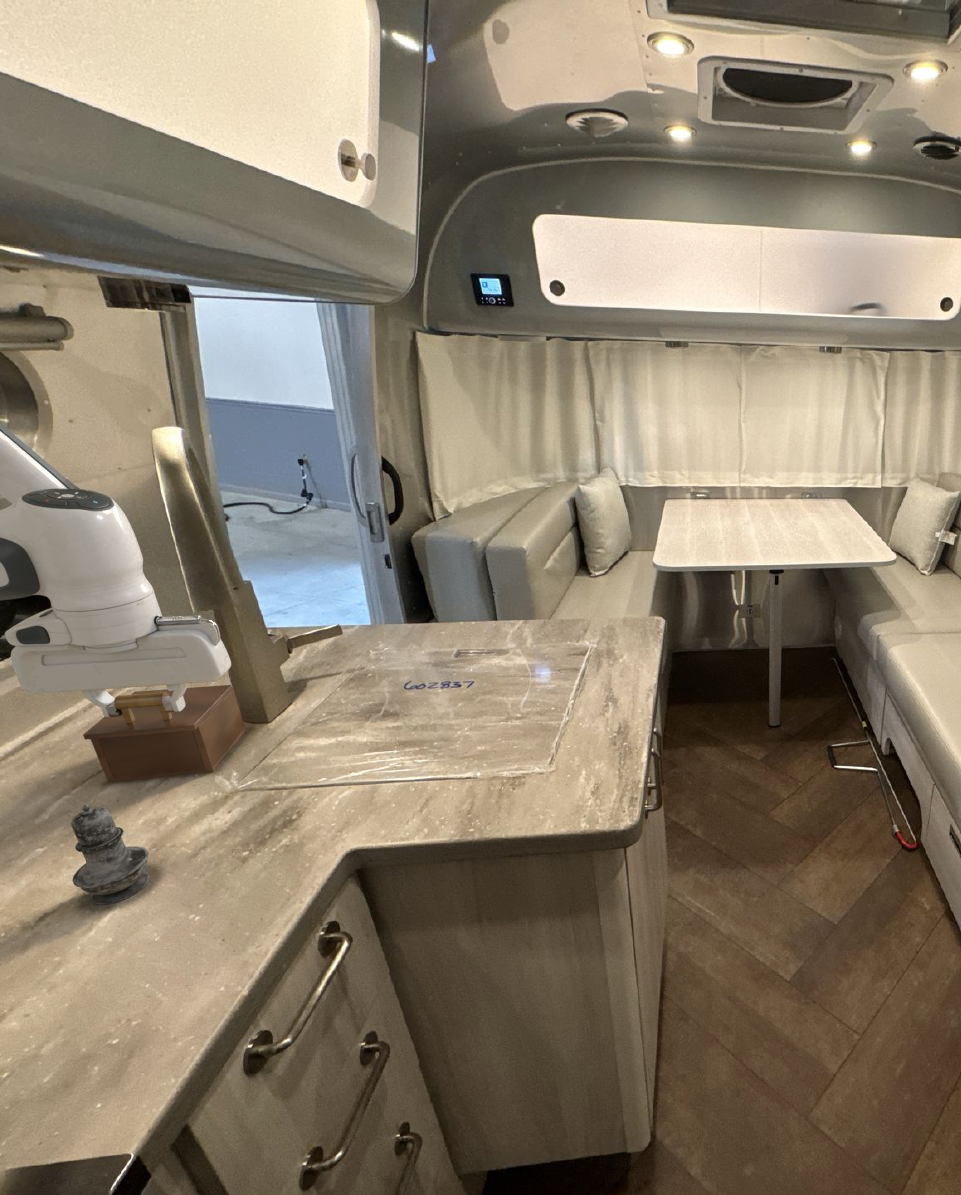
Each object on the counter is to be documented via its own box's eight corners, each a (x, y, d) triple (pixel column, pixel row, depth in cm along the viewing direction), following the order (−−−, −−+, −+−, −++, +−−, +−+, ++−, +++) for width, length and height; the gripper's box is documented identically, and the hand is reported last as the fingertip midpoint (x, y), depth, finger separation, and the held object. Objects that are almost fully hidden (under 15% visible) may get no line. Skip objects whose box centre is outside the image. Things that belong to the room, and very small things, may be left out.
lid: (195, 730, 86) (185, 699, 84) (84, 739, 82) (71, 708, 81) (233, 689, 95) (225, 660, 94) (136, 696, 92) (125, 667, 90)
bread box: (214, 773, 90) (198, 727, 87) (108, 784, 86) (88, 736, 83) (246, 733, 98) (233, 689, 96) (152, 741, 95) (136, 696, 92)
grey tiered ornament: (69, 904, 69) (26, 817, 65) (132, 864, 75) (98, 781, 70) (110, 918, 68) (70, 830, 64) (171, 876, 73) (139, 793, 69)
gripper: (225, 604, 86) (250, 693, 91) (26, 612, 80) (65, 706, 85) (201, 624, 81) (229, 717, 86) (-15, 634, 74) (29, 733, 80)
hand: (146, 712), depth 85 cm, fingers closed on lid, 5 cm apart
